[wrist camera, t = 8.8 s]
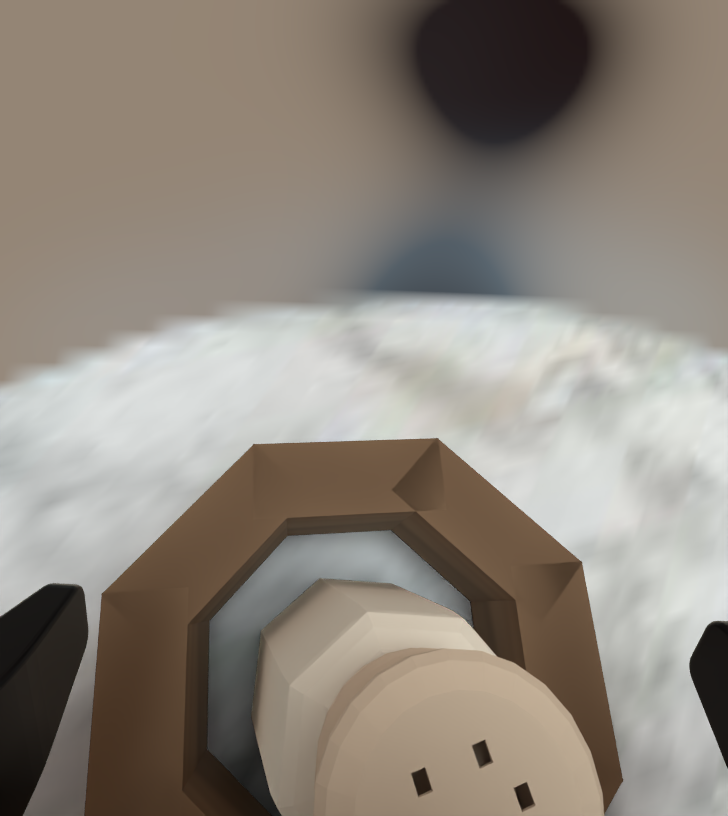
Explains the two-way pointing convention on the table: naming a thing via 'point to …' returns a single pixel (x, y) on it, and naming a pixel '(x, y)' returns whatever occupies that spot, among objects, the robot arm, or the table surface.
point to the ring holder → (252, 544)
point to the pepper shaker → (407, 715)
